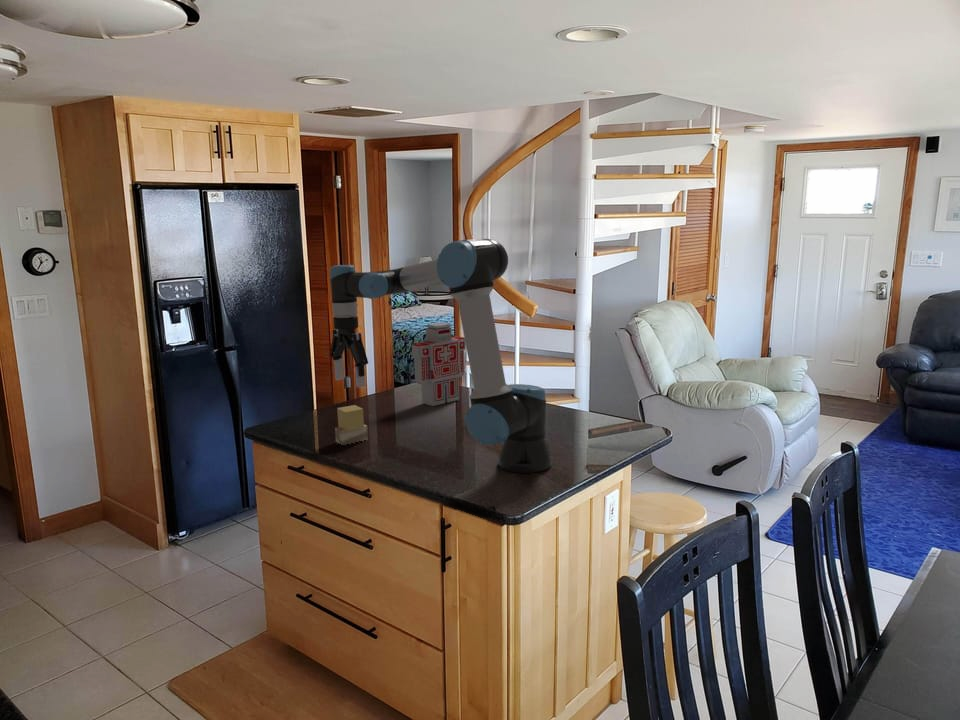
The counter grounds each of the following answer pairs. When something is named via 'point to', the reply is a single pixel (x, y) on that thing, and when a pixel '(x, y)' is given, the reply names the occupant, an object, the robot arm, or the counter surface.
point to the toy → (439, 364)
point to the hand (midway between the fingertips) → (350, 383)
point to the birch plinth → (351, 435)
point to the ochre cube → (350, 417)
